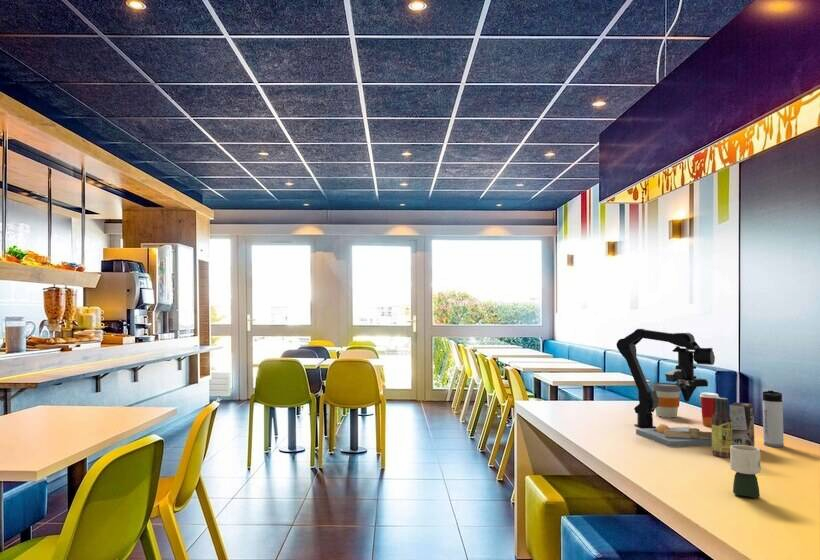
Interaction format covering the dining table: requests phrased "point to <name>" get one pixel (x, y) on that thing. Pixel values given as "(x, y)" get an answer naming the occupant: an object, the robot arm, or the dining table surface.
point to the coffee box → (742, 424)
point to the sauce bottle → (721, 429)
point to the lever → (688, 433)
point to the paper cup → (708, 407)
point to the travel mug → (773, 419)
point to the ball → (662, 428)
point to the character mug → (745, 469)
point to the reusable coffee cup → (667, 399)
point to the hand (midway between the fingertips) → (686, 401)
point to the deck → (673, 441)
